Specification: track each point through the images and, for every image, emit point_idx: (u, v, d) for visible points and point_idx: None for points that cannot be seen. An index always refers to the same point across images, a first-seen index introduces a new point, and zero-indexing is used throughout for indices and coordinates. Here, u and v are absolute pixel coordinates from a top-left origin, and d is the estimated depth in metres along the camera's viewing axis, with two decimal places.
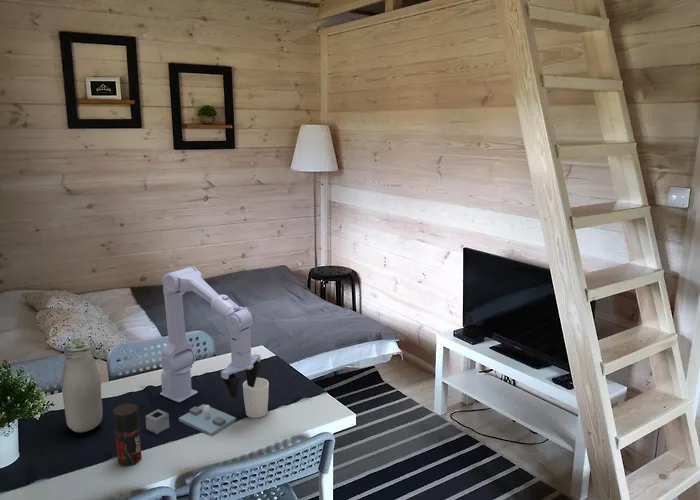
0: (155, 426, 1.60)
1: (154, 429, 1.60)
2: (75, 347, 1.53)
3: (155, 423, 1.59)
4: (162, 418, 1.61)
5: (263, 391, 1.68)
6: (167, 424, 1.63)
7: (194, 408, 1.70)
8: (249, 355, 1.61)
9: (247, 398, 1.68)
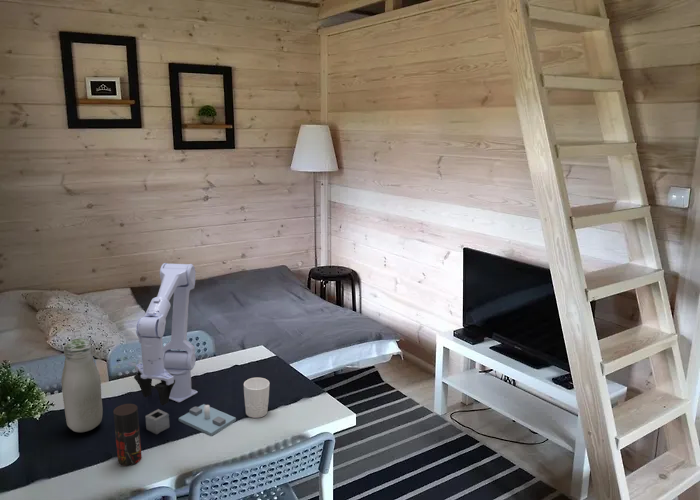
0: (155, 426, 1.60)
1: (154, 429, 1.60)
2: (75, 347, 1.53)
3: (155, 423, 1.59)
4: (162, 418, 1.61)
5: (264, 391, 1.68)
6: (167, 424, 1.63)
7: (194, 408, 1.70)
8: (146, 365, 1.55)
9: (247, 397, 1.68)
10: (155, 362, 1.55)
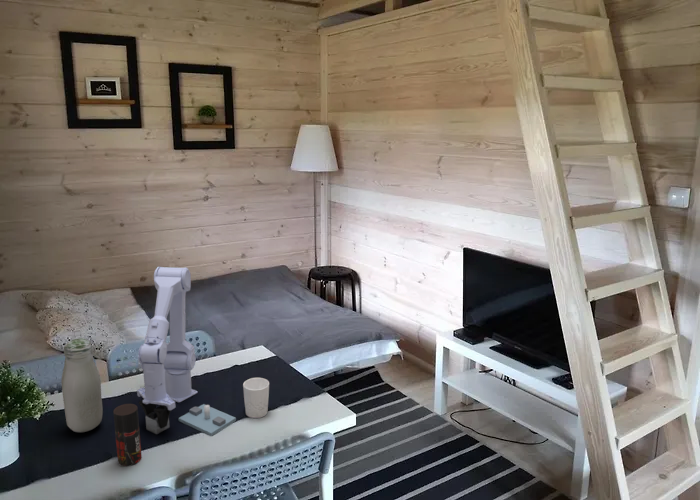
0: (155, 426, 1.60)
1: (154, 429, 1.60)
2: (75, 347, 1.53)
3: (155, 423, 1.59)
4: None
5: (264, 391, 1.68)
6: (167, 424, 1.63)
7: (194, 408, 1.70)
8: (148, 390, 1.57)
9: (247, 398, 1.68)
10: (157, 387, 1.57)
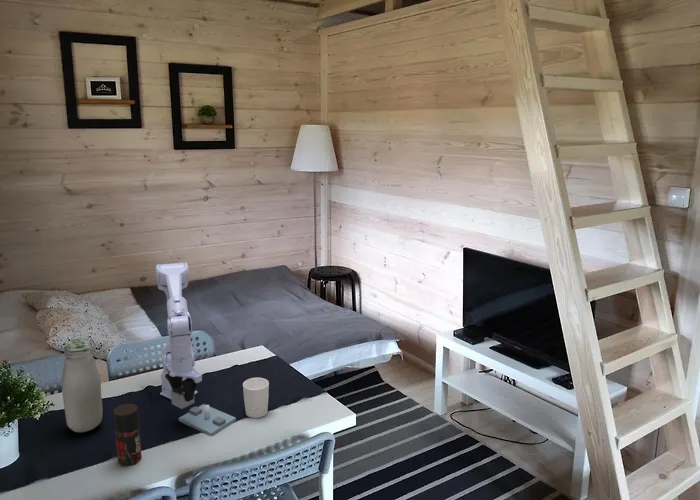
0: (180, 401, 1.60)
1: (179, 404, 1.61)
2: (75, 347, 1.53)
3: (180, 398, 1.60)
4: None
5: (264, 391, 1.68)
6: None
7: (194, 408, 1.70)
8: (175, 363, 1.58)
9: (247, 398, 1.68)
10: (184, 360, 1.58)
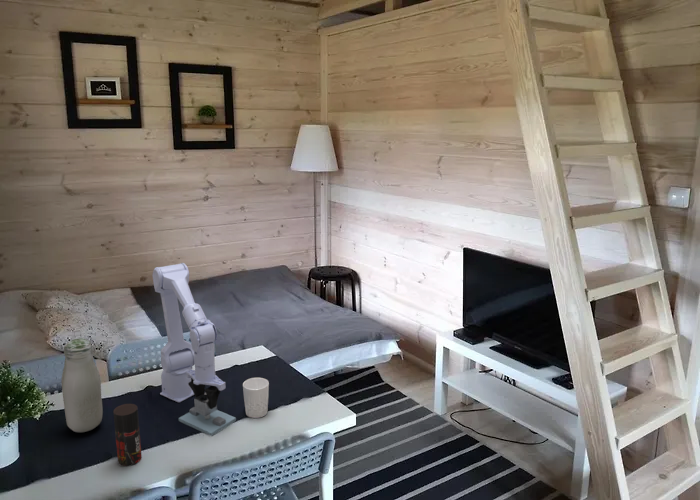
0: (204, 408, 1.63)
1: (203, 411, 1.63)
2: (75, 347, 1.53)
3: (204, 405, 1.62)
4: None
5: (264, 391, 1.68)
6: (215, 407, 1.66)
7: (194, 408, 1.70)
8: (199, 371, 1.60)
9: (247, 398, 1.68)
10: (207, 368, 1.60)
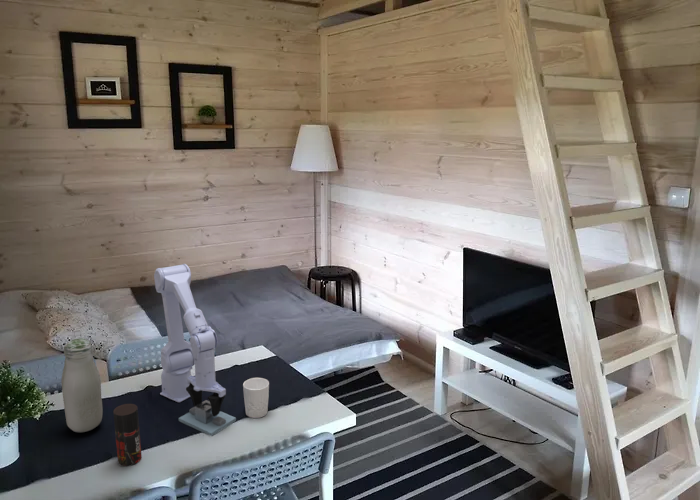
0: (205, 416, 1.63)
1: (203, 419, 1.64)
2: (75, 347, 1.53)
3: (205, 413, 1.63)
4: None
5: (264, 391, 1.68)
6: None
7: (194, 408, 1.70)
8: (199, 378, 1.61)
9: (247, 398, 1.68)
10: (208, 375, 1.61)
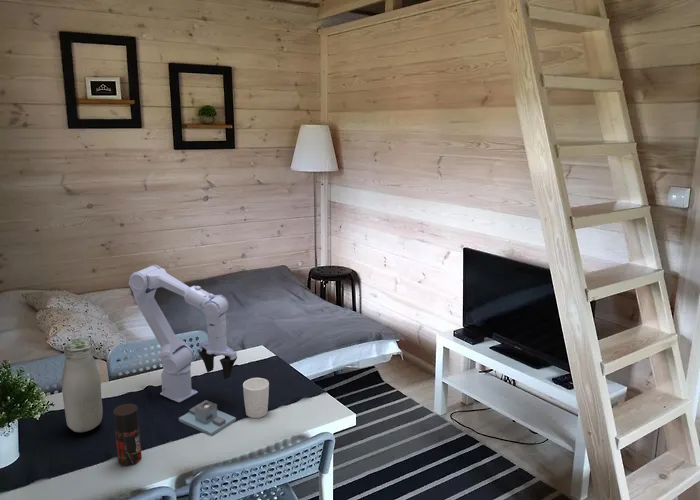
0: (205, 416, 1.63)
1: (203, 419, 1.64)
2: (75, 347, 1.53)
3: (205, 413, 1.63)
4: (211, 408, 1.65)
5: (264, 391, 1.68)
6: (215, 414, 1.67)
7: (194, 408, 1.70)
8: (212, 342, 1.70)
9: (247, 398, 1.68)
10: (220, 339, 1.70)
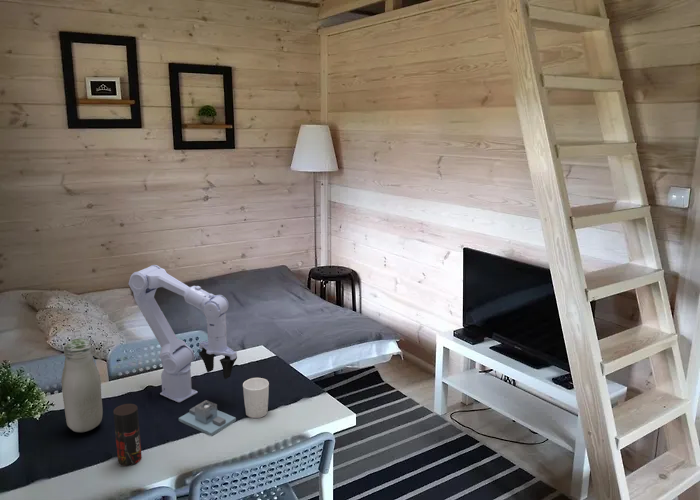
0: (205, 416, 1.63)
1: (203, 419, 1.64)
2: (75, 347, 1.53)
3: (205, 413, 1.63)
4: (211, 408, 1.65)
5: (264, 391, 1.68)
6: (215, 414, 1.67)
7: (194, 408, 1.70)
8: (212, 342, 1.70)
9: (247, 398, 1.68)
10: (220, 339, 1.70)
